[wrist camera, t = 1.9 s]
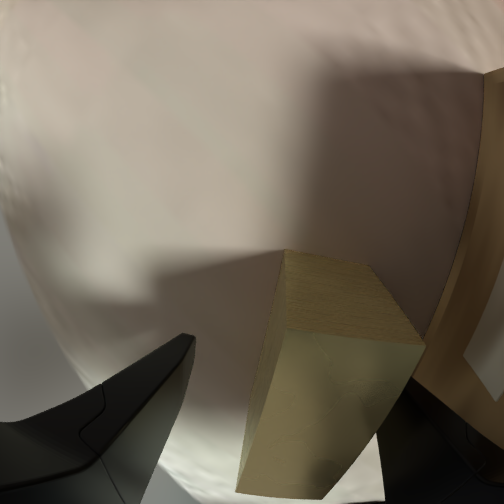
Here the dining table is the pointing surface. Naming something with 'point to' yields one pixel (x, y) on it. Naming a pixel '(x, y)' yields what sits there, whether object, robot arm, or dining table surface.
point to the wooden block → (323, 376)
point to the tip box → (475, 293)
